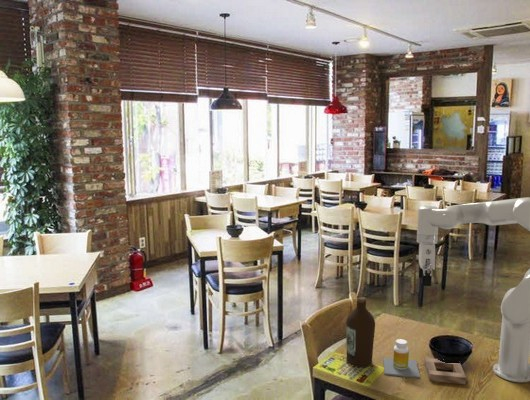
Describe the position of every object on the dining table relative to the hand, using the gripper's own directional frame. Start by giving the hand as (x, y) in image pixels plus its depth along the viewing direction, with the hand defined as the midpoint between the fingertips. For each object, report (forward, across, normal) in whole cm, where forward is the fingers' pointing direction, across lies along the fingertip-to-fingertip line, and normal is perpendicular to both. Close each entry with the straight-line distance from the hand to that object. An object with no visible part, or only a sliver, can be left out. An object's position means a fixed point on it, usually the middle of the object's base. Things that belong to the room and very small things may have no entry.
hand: (424, 281), depth 181 cm
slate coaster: (+28, -16, +9) cm, 34 cm away
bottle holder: (+28, -17, -6) cm, 34 cm away
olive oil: (+28, -14, +24) cm, 40 cm away
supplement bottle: (+28, -16, +9) cm, 33 cm away
